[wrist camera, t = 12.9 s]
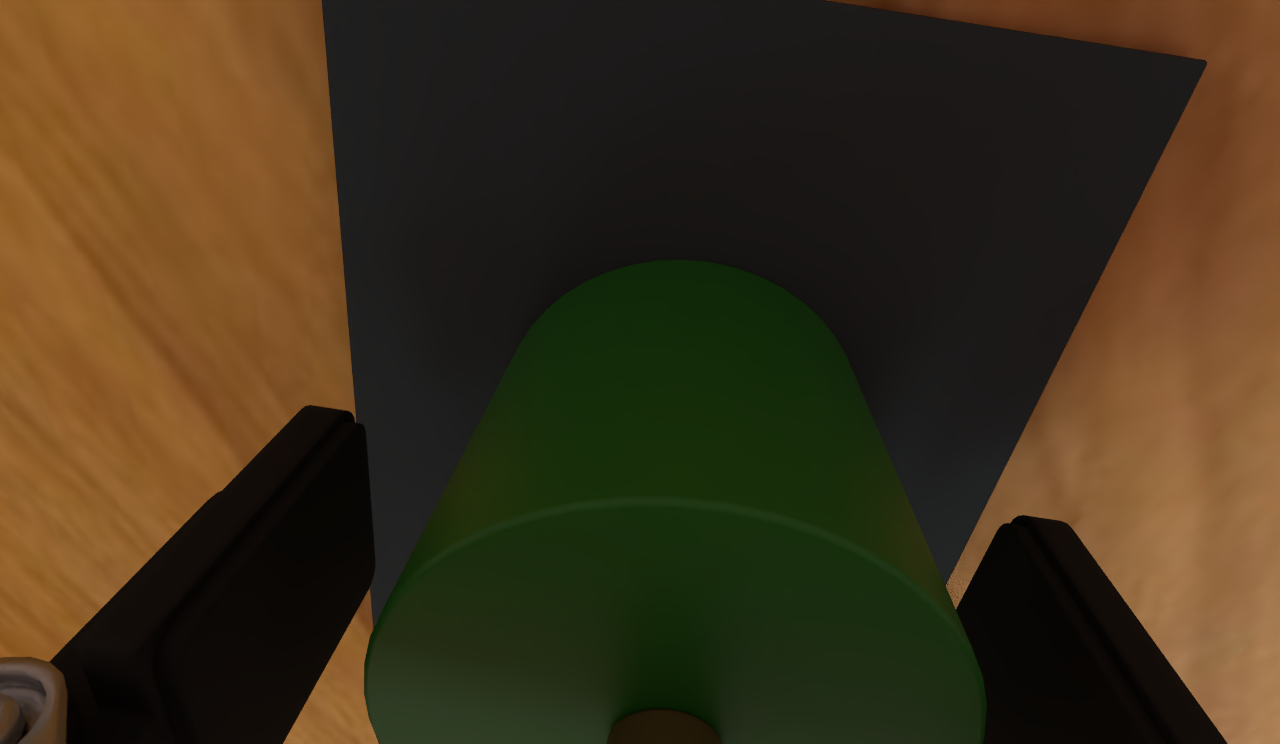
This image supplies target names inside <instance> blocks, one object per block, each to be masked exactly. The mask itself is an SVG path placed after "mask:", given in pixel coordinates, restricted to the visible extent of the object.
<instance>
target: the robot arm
mask: <svg viewBox="0 0 1280 744" xmlns="http://www.w3.org/2000/svg"><path fill="white" fill-rule="evenodd" d="M375 565H376V560H375V546H374V533H373V519H372V506H371V492H370V479H369V465H368V452H367V438H366V430H365V427H364V425H363V424H361V423H355V420H354V417H353V415H352V413H351V412H349V411H345V410H338V409H332V408H325V407H319V406H312V405H309V406H305V407H304V408H302V409H301V410H300V411H299V412H298V413H297V414H296V415H295V416H294V417H293V418H292V419H291V420H290V421H289V422H288V423H287V424H286V425H285V426H284V427H283V429H282V430H281V431H280V432H279V433H278V434H277V435H276V436H275V437H274V438H273V439H272V440H271V441H270V442H269V443H268V444H267V445H266V446H265V447H264V448H263V449H262V450H261V451H260V452H259V453H258V454H257V455H256V456H255V457H254V458H253V459H252V460H251V461H250V463H249V464H248V465H247V466H246V467H245V468H244V469H243V470H242V471H241V472H240V473H239V474H238V475H237V476H236V477H235V478H234V479H233V480H232V481H231V482H230V483H229V484H228V485H227V486H226V487H225V488H224V489H223V490H222V491H220V492H218V493H216V494H215V495H214V496H213V497H211V498H210V499H209V500H208V501H207V502H206V503H205V504H204V505H203V506H202V507H201V508H200V509H199V510H198V511H197V512H196V513H195V514H194V515H193V516H192V517H191V518H190V519H189V520H188V521H187V522H186V523H185V524H184V525H183V526H182V527H181V528H180V529H179V530H178V531H177V532H176V533H175V534H174V535H173V536H172V537H171V538H170V539H169V540H168V541H167V542H166V543H165V544H164V545H163V546H162V548H161V549H160V550H159V551H158V552H157V553H156V554H155V555H154V556H153V557H152V558H151V559H150V560H149V561H148V562H147V563H146V564H145V565H144V566H143V567H142V568H141V569H140V570H139V571H138V572H137V573H136V574H135V575H134V576H133V577H132V578H131V579H130V580H129V581H128V582H127V583H126V584H125V585H124V586H123V587H122V588H121V589H120V590H119V591H118V592H117V593H116V594H115V595H114V596H113V597H112V598H111V599H110V600H109V602H108V603H107V604H106V605H105V606H104V607H103V608H102V609H101V610H100V611H99V612H98V613H97V614H96V615H95V616H94V617H93V618H92V619H91V620H90V621H89V622H88V623H87V624H86V625H85V626H84V627H83V628H82V629H81V630H80V631H79V632H78V633H77V634H76V635H75V636H74V637H73V638H72V639H71V640H70V641H69V642H68V643H67V644H66V645H65V646H64V647H63V648H62V649H61V650H60V651H59V652H58V653H57V655H56V656H55V657H54V658H53V659H52V660H51V661H50V662H47V661H43V660H40V659H36V658H33V657H3V658H0V744H283V742H284V741H285V739H286V737H287V735H288V733H289V732H290V730H291V728H292V726H293V724H294V723H295V721H296V719H297V717H298V715H299V714H300V712H301V710H302V708H303V707H304V705H305V703H306V701H307V699H308V698H309V696H310V694H311V692H312V690H313V689H314V687H315V685H316V683H317V681H318V680H319V678H320V676H321V674H322V672H323V671H324V669H325V667H326V665H327V663H328V662H329V660H330V658H331V656H332V654H333V653H334V651H335V649H336V647H337V645H338V644H339V642H340V640H341V638H342V636H343V635H344V633H345V631H346V629H347V627H348V626H349V624H350V622H351V620H352V618H353V617H354V615H355V613H356V611H357V609H358V608H359V606H360V604H361V602H362V600H363V599H364V597H365V595H366V593H367V591H368V590H369V588H370V585H371V583H372V580H373V577H374V573H375ZM956 612H957V614H958V616H959V619H960V621H961V623H962V626H963V628H964V630H965V632H966V635H967V637H968V639H969V642H970V644H971V646H972V649H973V652H974V654H975V657H976V660H977V662H978V665H979V668H980V670H981V673H982V676H983V681H984V688H985V695H986V702H987V710H986V724H985V737H984V741H983V744H1227V742H1226V741H1225V739H1224V738H1223V737H1222V735H1221V734H1220V732H1219V731H1218V730H1217V728H1216V727H1215V726H1214V724H1213V723H1212V721H1211V720H1210V719H1209V717H1208V716H1207V714H1206V713H1205V712H1204V710H1203V709H1202V708H1201V706H1200V705H1199V703H1198V702H1197V701H1196V699H1195V698H1194V696H1193V695H1192V694H1191V692H1190V691H1189V690H1188V688H1187V687H1186V685H1185V684H1184V683H1183V681H1182V680H1181V678H1180V677H1179V676H1178V674H1177V673H1176V672H1175V670H1174V669H1173V667H1172V666H1171V665H1170V663H1169V662H1168V660H1167V659H1166V658H1165V656H1164V655H1163V654H1162V652H1161V651H1160V649H1159V648H1158V647H1157V645H1156V644H1155V642H1154V641H1153V640H1152V638H1151V637H1150V636H1149V634H1148V633H1147V631H1146V630H1145V629H1144V627H1143V626H1142V624H1141V623H1140V622H1139V620H1138V619H1137V618H1136V616H1135V615H1134V613H1133V612H1132V611H1131V609H1130V608H1129V606H1128V605H1127V604H1126V602H1125V601H1124V600H1123V598H1122V597H1121V595H1120V594H1119V593H1118V591H1117V590H1116V588H1115V587H1114V586H1113V584H1112V583H1111V582H1110V580H1109V579H1108V577H1107V576H1106V575H1105V573H1104V572H1103V570H1102V569H1101V568H1100V566H1099V565H1098V564H1097V562H1096V561H1095V559H1094V558H1093V557H1092V555H1091V554H1090V552H1089V551H1088V550H1087V548H1086V547H1085V546H1084V544H1083V543H1082V541H1081V540H1080V539H1079V537H1078V536H1077V534H1076V533H1075V532H1074V530H1073V529H1072V528H1071V527H1070V526H1069V525H1068V524H1067V523H1065V522H1062V521H1057V520H1051V519H1045V518H1038V517H1032V516H1025V515H1022V516H1017V517H1016V518H1014V519H1013V520H1012V522H1011V523H1010V524H1009V523H1007V524H1003V525H1002V526H1000V528H999V529H998V530H997V532H996V534H995V536H994V538H993V540H992V542H991V544H990V546H989V548H988V549H987V551H986V553H985V555H984V557H983V559H982V561H981V563H980V565H979V567H978V569H977V570H976V572H975V574H974V576H973V578H972V580H971V582H970V584H969V586H968V588H967V590H966V592H965V593H964V595H963V597H962V599H961V601H960V603H959V605H958V607H957V609H956Z"/></svg>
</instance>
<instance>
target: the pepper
mask: <svg viewBox="0 0 1280 744" xmlns="http://www.w3.org/2000/svg"><path fill="white" fill-rule="evenodd" d="M364 695H365V700H366V705H367V710H368V715H369V719H370V722H371V724H372V727H373V729H374V732H375V734H376V737H377V740H378V742H379V744H983V741H984V737H985V724H986V710H987V702H986V695H985V688H984V681H983V676H982V673H981V670H980V668H979V665H978V662H977V660H976V657H975V654H974V652H973V649H972V646H971V644H970V642H969V639H968V637H967V635H966V632H965V630H964V628H963V626H962V623H961V621H960V619H959V616H958V614H957V612H956V609H955V607H954V605H953V602H952V600H951V598H950V595H949V593H948V591H947V588H946V586H945V584H944V581H943V579H942V577H941V574H940V572H939V570H938V567H937V565H936V563H935V560H934V558H933V556H932V554H931V551H930V549H929V547H928V544H927V542H926V540H925V537H924V535H923V533H922V530H921V528H920V526H919V523H918V521H917V519H916V516H915V514H914V512H913V509H912V507H911V505H910V502H909V500H908V498H907V495H906V493H905V491H904V488H903V486H902V484H901V481H900V479H899V477H898V475H897V472H896V470H895V468H894V465H893V463H892V461H891V458H890V456H889V454H888V451H887V449H886V447H885V444H884V442H883V440H882V437H881V435H880V433H879V430H878V428H877V426H876V423H875V421H874V419H873V416H872V414H871V412H870V409H869V407H868V405H867V402H866V400H865V398H864V396H863V393H862V391H861V389H860V386H859V384H858V382H857V379H856V377H855V375H854V372H853V370H852V368H851V365H850V363H849V361H848V358H847V356H846V354H845V353H844V351H843V349H842V347H841V346H840V344H839V342H838V340H837V339H836V337H835V336H834V334H833V333H832V332H831V331H830V329H829V328H828V327H827V326H826V324H825V323H824V322H823V321H822V319H821V318H820V317H819V316H818V315H816V314H815V313H814V312H813V311H812V310H811V309H810V308H809V307H808V306H807V305H806V304H805V303H804V302H802V301H801V300H799V299H798V298H797V297H795V296H794V295H792V294H791V293H789V292H788V291H787V290H785V289H784V288H782V287H780V286H778V285H776V284H774V283H772V282H770V281H768V280H766V279H764V278H763V277H761V276H758V275H755V274H752V273H749V272H747V271H744V270H741V269H738V268H735V267H731V266H726V265H721V264H717V263H712V262H704V261H693V260H659V261H652V262H646V263H639V264H633V265H629V266H626V267H622V268H619V269H616V270H612V271H609V272H606V273H604V274H602V275H599V276H597V277H595V278H593V279H590V280H588V281H586V282H584V283H582V284H581V285H579V286H578V287H576V288H574V289H573V290H571V291H569V292H568V293H566V294H565V295H563V296H562V297H561V298H560V299H558V300H557V301H556V302H555V303H554V304H552V305H551V306H550V307H549V308H548V309H546V311H545V312H544V313H543V314H542V315H541V316H540V317H539V318H538V319H537V320H536V322H535V323H534V324H533V325H532V326H531V328H530V329H529V331H528V332H527V334H526V335H525V337H524V338H523V340H522V341H521V343H520V344H519V346H518V348H517V350H516V352H515V354H514V356H513V358H512V360H511V362H510V364H509V366H508V367H507V369H506V371H505V373H504V375H503V377H502V379H501V381H500V383H499V385H498V387H497V389H496V391H495V393H494V395H493V396H492V398H491V400H490V402H489V404H488V406H487V408H486V410H485V412H484V414H483V416H482V418H481V420H480V422H479V424H478V426H477V427H476V429H475V431H474V433H473V435H472V437H471V439H470V441H469V443H468V445H467V447H466V449H465V451H464V453H463V455H462V456H461V458H460V460H459V462H458V464H457V466H456V468H455V470H454V472H453V474H452V476H451V478H450V480H449V482H448V484H447V486H446V487H445V489H444V491H443V493H442V495H441V497H440V499H439V501H438V503H437V505H436V507H435V509H434V511H433V513H432V515H431V517H430V518H429V520H428V522H427V524H426V526H425V528H424V530H423V532H422V534H421V536H420V538H419V540H418V542H417V544H416V546H415V547H414V549H413V551H412V553H411V555H410V557H409V559H408V561H407V563H406V565H405V567H404V569H403V571H402V573H401V575H400V577H399V578H398V580H397V582H396V584H395V586H394V588H393V590H392V592H391V594H390V596H389V598H388V600H387V602H386V604H385V606H384V608H383V609H382V611H381V614H380V616H379V618H378V620H377V623H376V625H375V627H374V629H373V632H372V634H371V636H370V640H369V644H368V649H367V654H366V658H365V664H364Z"/></svg>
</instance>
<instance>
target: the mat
mask: <svg viewBox="0 0 1280 744" xmlns="http://www.w3.org/2000/svg"><path fill="white" fill-rule="evenodd" d="M322 9H323V21H324V33H325V45H326V57H327V69H328V82H329V94H330V106H331V118H332V130H333V142H334V154H335V167H336V179H337V191H338V203H339V215H340V227H341V239H342V252H343V264H344V276H345V288H346V300H347V312H348V324H349V336H350V349H351V361H352V373H353V385H354V397H355V409H356V421H357V423H361V424H363V425H364V427H365V430H366V438H367V452H368V465H369V479H370V492H371V506H372V519H373V533H374V546H375V560H376V565H375V573H374V577H373V580H372V583H371V585H370V591H371V604H372V616H373V628H374V627H375V625H376V623H377V620H378V618H379V616H380V614H381V611H382V609H383V608H384V606H385V604H386V602H387V600H388V598H389V596H390V594H391V592H392V590H393V588H394V586H395V584H396V582H397V580H398V578H399V577H400V575H401V573H402V571H403V569H404V567H405V565H406V563H407V561H408V559H409V557H410V555H411V553H412V551H413V549H414V547H415V546H416V544H417V542H418V540H419V538H420V536H421V534H422V532H423V530H424V528H425V526H426V524H427V522H428V520H429V518H430V517H431V515H432V513H433V511H434V509H435V507H436V505H437V503H438V501H439V499H440V497H441V495H442V493H443V491H444V489H445V487H446V486H447V484H448V482H449V480H450V478H451V476H452V474H453V472H454V470H455V468H456V466H457V464H458V462H459V460H460V458H461V456H462V455H463V453H464V451H465V449H466V447H467V445H468V443H469V441H470V439H471V437H472V435H473V433H474V431H475V429H476V427H477V426H478V424H479V422H480V420H481V418H482V416H483V414H484V412H485V410H486V408H487V406H488V404H489V402H490V400H491V398H492V396H493V395H494V393H495V391H496V389H497V387H498V385H499V383H500V381H501V379H502V377H503V375H504V373H505V371H506V369H507V367H508V366H509V364H510V362H511V360H512V358H513V356H514V354H515V352H516V350H517V348H518V346H519V344H520V343H521V341H522V340H523V338H524V337H525V335H526V334H527V332H528V331H529V329H530V328H531V326H532V325H533V324H534V323H535V322H536V320H537V319H538V318H539V317H540V316H541V315H542V314H543V313H544V312H545V311H546V309H548V308H549V307H550V306H551V305H552V304H554V303H555V302H556V301H557V300H558V299H560V298H561V297H562V296H563V295H565V294H566V293H568V292H569V291H571V290H573V289H574V288H576V287H578V286H579V285H581V284H582V283H584V282H586V281H588V280H590V279H593V278H595V277H597V276H599V275H602V274H604V273H606V272H609V271H612V270H616V269H619V268H622V267H626V266H629V265H633V264H639V263H646V262H652V261H659V260H693V261H704V262H712V263H717V264H721V265H726V266H731V267H735V268H738V269H741V270H744V271H747V272H749V273H752V274H755V275H758V276H761V277H763V278H764V279H766V280H768V281H770V282H772V283H774V284H776V285H778V286H780V287H782V288H784V289H785V290H787V291H788V292H789V293H791V294H792V295H794V296H795V297H797V298H798V299H799V300H801V301H802V302H804V303H805V304H806V305H807V306H808V307H809V308H810V309H811V310H812V311H813V312H814V313H815V314H816V315H818V316H819V317H820V318H821V319H822V321H823V322H824V323H825V324H826V326H827V327H828V328H829V329H830V331H831V332H832V333H833V334H834V336H835V337H836V339H837V340H838V342H839V344H840V346H841V347H842V349H843V351H844V353H845V354H846V356H847V358H848V361H849V363H850V365H851V368H852V370H853V372H854V375H855V377H856V379H857V382H858V384H859V386H860V389H861V391H862V393H863V396H864V398H865V400H866V402H867V405H868V407H869V409H870V412H871V414H872V416H873V419H874V421H875V423H876V426H877V428H878V430H879V433H880V435H881V437H882V440H883V442H884V444H885V447H886V449H887V451H888V454H889V456H890V458H891V461H892V463H893V465H894V468H895V470H896V472H897V475H898V477H899V479H900V481H901V484H902V486H903V488H904V491H905V493H906V495H907V498H908V500H909V502H910V505H911V507H912V509H913V512H914V514H915V516H916V519H917V521H918V523H919V526H920V528H921V530H922V533H923V535H924V537H925V540H926V542H927V544H928V547H929V549H930V551H931V554H932V556H933V558H934V560H935V563H936V565H937V567H938V570H939V572H940V574H941V577H942V579H943V581H944V584H945V586H946V584H947V582H948V580H949V578H950V576H951V574H952V572H953V570H954V568H955V566H956V564H957V562H958V560H959V558H960V556H961V554H962V552H963V550H964V548H965V546H966V544H967V542H968V540H969V538H970V536H971V534H972V532H973V530H974V528H975V526H976V524H977V522H978V520H979V518H980V516H981V514H982V512H983V510H984V508H985V506H986V504H987V502H988V500H989V498H990V496H991V494H992V492H993V490H994V488H995V486H996V484H997V482H998V480H999V478H1000V476H1001V474H1002V472H1003V470H1004V468H1005V466H1006V464H1007V462H1008V460H1009V458H1010V456H1011V454H1012V452H1013V450H1014V448H1015V446H1016V444H1017V442H1018V440H1019V438H1020V436H1021V434H1022V432H1023V430H1024V428H1025V426H1026V424H1027V422H1028V420H1029V418H1030V416H1031V414H1032V412H1033V410H1034V408H1035V406H1036V404H1037V402H1038V400H1039V398H1040V396H1041V394H1042V392H1043V390H1044V388H1045V386H1046V384H1047V382H1048V380H1049V378H1050V376H1051V374H1052V372H1053V370H1054V368H1055V366H1056V364H1057V362H1058V360H1059V358H1060V356H1061V354H1062V352H1063V350H1064V348H1065V347H1066V345H1067V343H1068V341H1069V339H1070V337H1071V335H1072V333H1073V331H1074V329H1075V327H1076V325H1077V323H1078V321H1079V319H1080V317H1081V315H1082V313H1083V311H1084V309H1085V307H1086V305H1087V303H1088V301H1089V299H1090V297H1091V295H1092V293H1093V291H1094V289H1095V287H1096V285H1097V283H1098V281H1099V279H1100V277H1101V275H1102V273H1103V271H1104V269H1105V267H1106V265H1107V263H1108V261H1109V259H1110V257H1111V255H1112V253H1113V251H1114V249H1115V247H1116V245H1117V243H1118V241H1119V239H1120V237H1121V235H1122V233H1123V231H1124V229H1125V227H1126V225H1127V223H1128V221H1129V219H1130V217H1131V215H1132V213H1133V211H1134V209H1135V207H1136V205H1137V203H1138V201H1139V199H1140V197H1141V195H1142V193H1143V191H1144V189H1145V187H1146V185H1147V183H1148V181H1149V179H1150V177H1151V175H1152V173H1153V171H1154V169H1155V167H1156V165H1157V163H1158V161H1159V159H1160V157H1161V155H1162V153H1163V151H1164V149H1165V147H1166V145H1167V143H1168V141H1169V139H1170V137H1171V135H1172V133H1173V131H1174V129H1175V127H1176V125H1177V123H1178V121H1179V119H1180V117H1181V115H1182V113H1183V111H1184V109H1185V107H1186V105H1187V103H1188V101H1189V99H1190V97H1191V95H1192V93H1193V91H1194V89H1195V87H1196V85H1197V83H1198V81H1199V79H1200V77H1201V75H1202V73H1203V71H1204V69H1205V67H1206V65H1207V62H1206V61H1205V60H1200V59H1194V58H1188V57H1181V56H1175V55H1168V54H1162V53H1156V52H1149V51H1143V50H1137V49H1130V48H1124V47H1118V46H1111V45H1105V44H1099V43H1092V42H1086V41H1080V40H1073V39H1067V38H1060V37H1054V36H1048V35H1041V34H1035V33H1029V32H1022V31H1016V30H1010V29H1003V28H997V27H991V26H984V25H978V24H972V23H965V22H959V21H953V20H946V19H940V18H933V17H927V16H921V15H914V14H908V13H902V12H895V11H889V10H883V9H876V8H870V7H864V6H857V5H851V4H845V3H838V2H832V1H825V0H322Z"/></svg>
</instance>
